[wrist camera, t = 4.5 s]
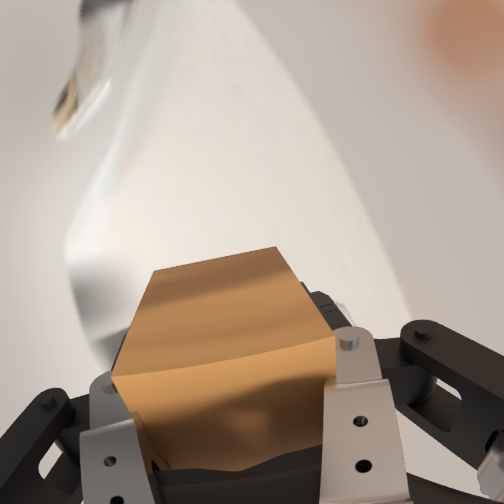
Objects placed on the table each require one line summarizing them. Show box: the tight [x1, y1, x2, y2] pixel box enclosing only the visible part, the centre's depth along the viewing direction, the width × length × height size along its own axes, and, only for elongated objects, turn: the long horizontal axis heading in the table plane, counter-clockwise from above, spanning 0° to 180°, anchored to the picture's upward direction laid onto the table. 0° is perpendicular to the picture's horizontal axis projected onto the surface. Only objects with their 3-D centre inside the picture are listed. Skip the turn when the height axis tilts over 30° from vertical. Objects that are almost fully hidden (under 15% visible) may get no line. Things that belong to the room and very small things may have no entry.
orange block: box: [111, 246, 336, 471], centre depth 9 cm, size 4×4×6 cm
